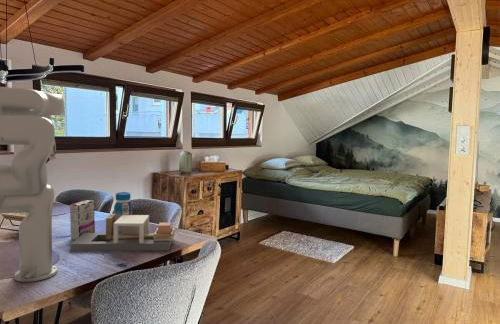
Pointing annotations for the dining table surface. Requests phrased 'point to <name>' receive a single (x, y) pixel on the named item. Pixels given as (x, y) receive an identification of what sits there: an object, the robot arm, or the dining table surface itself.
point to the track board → (129, 226)
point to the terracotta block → (164, 228)
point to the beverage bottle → (122, 206)
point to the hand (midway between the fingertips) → (41, 173)
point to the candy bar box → (82, 218)
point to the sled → (157, 237)
